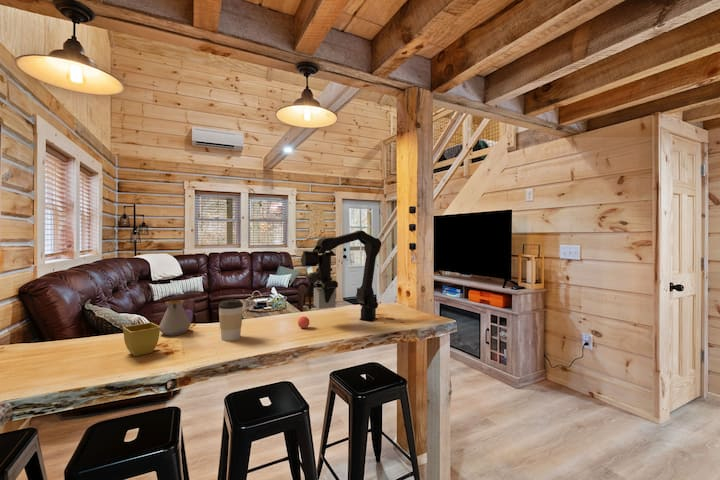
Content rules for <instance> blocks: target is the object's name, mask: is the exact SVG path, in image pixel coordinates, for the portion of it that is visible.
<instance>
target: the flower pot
mask: <svg viewBox="0 0 720 480" xmlns="http://www.w3.org/2000/svg"><path fill="white" fill-rule="evenodd" d="M122 333H123V339H124V344H125V346H126V349H127V350H128V351H129V353H130V354H131V355H133V356H134V357H138V356H141V355H147V354H151V353H153V352H154V350H155V349H156V347H157V345H158V343H159V340H160V339H159V338H160V333H161V331H160V326H159V325H158V324H156V323H154V322H145V323H140V324H133V325H132V324H131V325H127V326H122Z"/></svg>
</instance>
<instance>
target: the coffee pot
mask: <svg viewBox="0 0 720 480" xmlns="http://www.w3.org/2000/svg"><path fill="white" fill-rule="evenodd" d="M184 302H185V301H184V300H183V299H173V300H169V301H168V300H167V301H165V302H164V304H165V305H166V306H167V308H166V311H165V312H164V315H163V317H162V319H161V321H160V323H159V325H158V326H160V333H162V334H163V335H165V336H170V337H171V336H178V335H182V334H185V333H186V332H187V331H188V330H189V329H190V327H191V324H192V323H191V322H190V319H189V318H188V315H187V313H186V311H185V309H184V307H183V303H184Z"/></svg>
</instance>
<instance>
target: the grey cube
mask: <svg viewBox="0 0 720 480" xmlns="http://www.w3.org/2000/svg"><path fill="white" fill-rule="evenodd" d="M336 293H337V290H336V289H335V290H334V292H333V294H332V296H331V298H330V300H329V302H328V303H326V301H325V293H324V290H323V289H322V288H317V287H313V306H314V307H315V308H317V309H319V310H320V309H330V308H336V301H337V300H336V295H337V294H336Z"/></svg>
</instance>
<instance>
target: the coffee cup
mask: <svg viewBox="0 0 720 480" xmlns="http://www.w3.org/2000/svg"><path fill="white" fill-rule="evenodd" d="M243 307H244V303H243V302H242V300H240V299H236V298H233V299H224V300H221V302H220V303H219V304H218V316H219V317H218V318H219V329H220V339H221V341H225V342H228V341H229V342H230V341H236V340H239V339H240V338H241V330H242V324H243V312H244V311H243Z"/></svg>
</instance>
